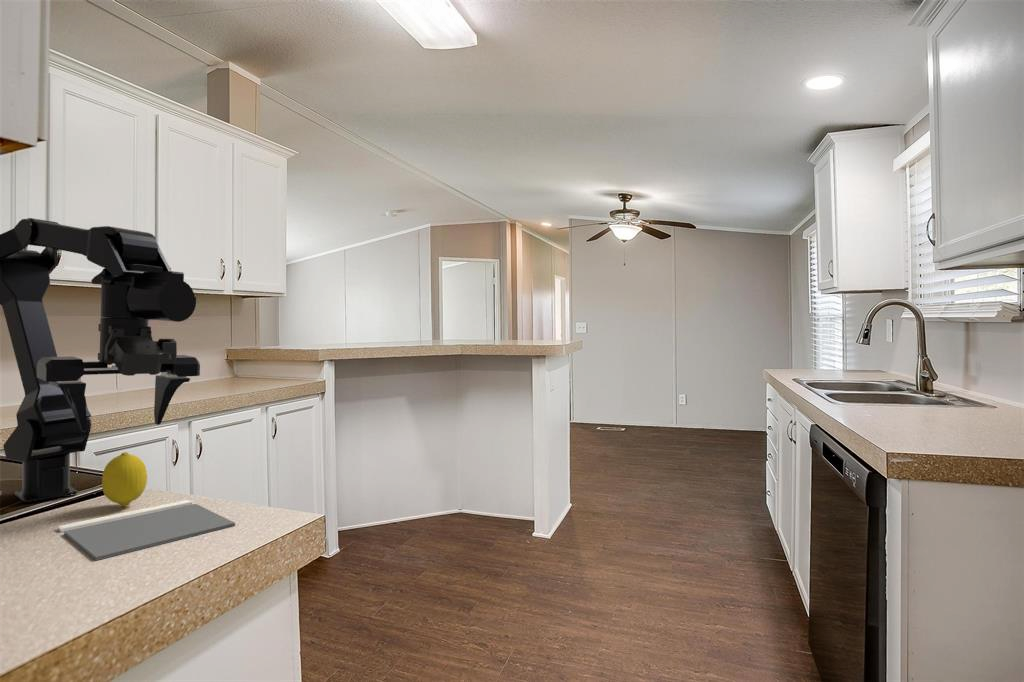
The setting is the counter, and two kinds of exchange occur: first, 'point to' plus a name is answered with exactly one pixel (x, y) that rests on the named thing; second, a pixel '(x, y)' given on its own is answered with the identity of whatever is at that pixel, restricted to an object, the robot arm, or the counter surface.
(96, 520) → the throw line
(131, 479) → the lemon
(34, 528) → the counter surface
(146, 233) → the robot arm
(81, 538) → the mat
